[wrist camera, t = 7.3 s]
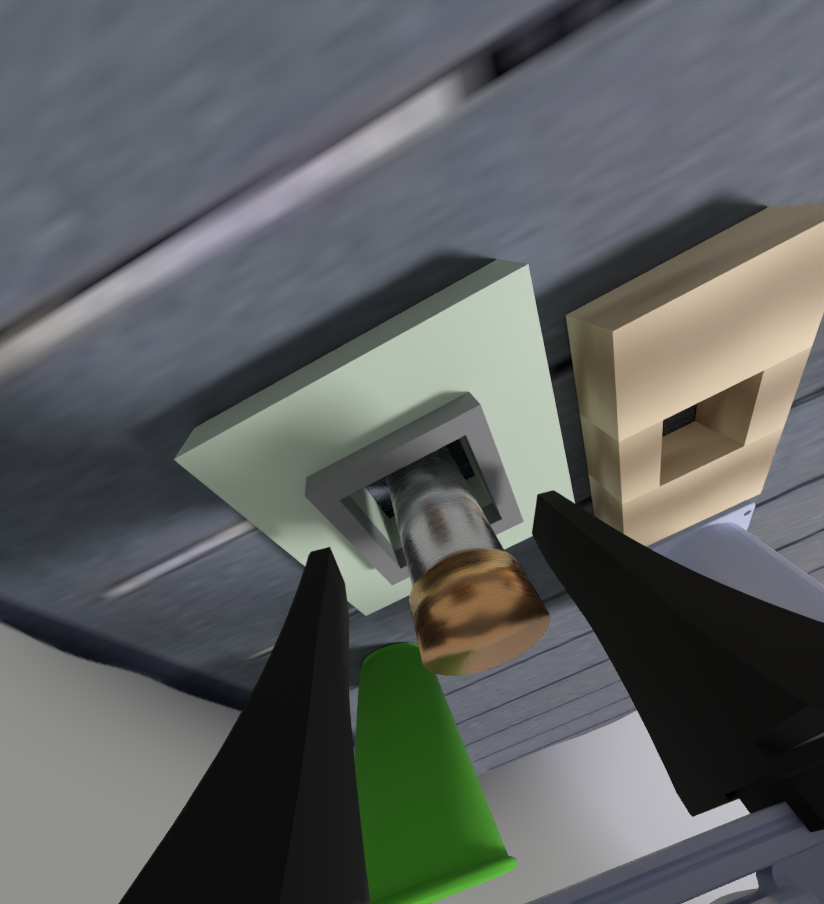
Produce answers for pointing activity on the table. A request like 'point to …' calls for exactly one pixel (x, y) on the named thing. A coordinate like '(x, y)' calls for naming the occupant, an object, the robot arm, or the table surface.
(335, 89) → the table surface
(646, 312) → the mount
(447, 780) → the cup
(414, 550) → the pin
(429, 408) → the socket
